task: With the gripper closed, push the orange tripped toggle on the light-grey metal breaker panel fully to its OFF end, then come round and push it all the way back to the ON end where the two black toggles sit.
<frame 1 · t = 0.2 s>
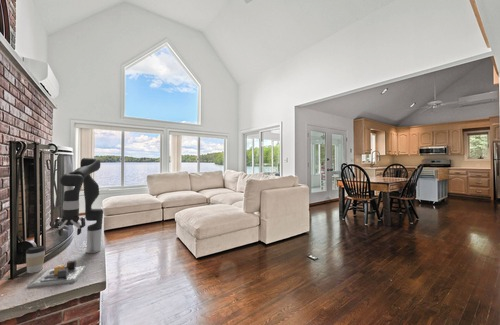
hand: (69, 234, 128), 27 cm above the table, fingers open, 8 cm apart
breaker panel: (59, 277, 131), on the table
coffee cup: (34, 270, 137), on the table
tripped toggle: (59, 269, 131), point 5 cm above the table, slide at 4.0 cm
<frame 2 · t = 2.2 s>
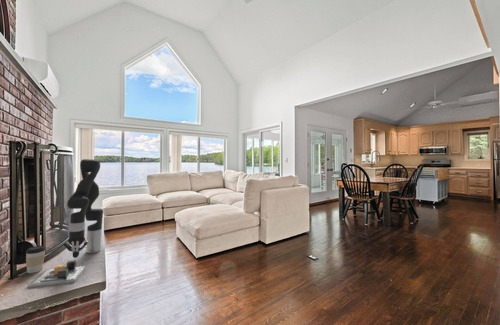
hand: (75, 257, 133), 12 cm above the table, fingers closed
nothing on the table moved.
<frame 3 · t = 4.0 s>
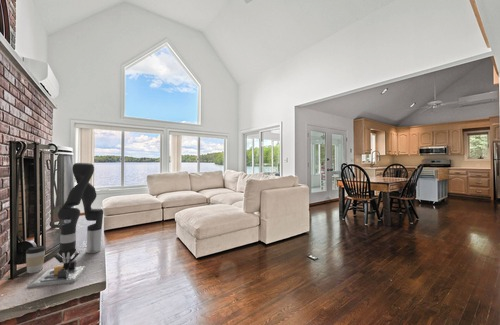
hand: (66, 268, 132), 5 cm above the table, fingers closed
tripped toggle: (59, 269, 131), point 5 cm above the table, slide at 3.9 cm, touching gripper
everything else where it was.
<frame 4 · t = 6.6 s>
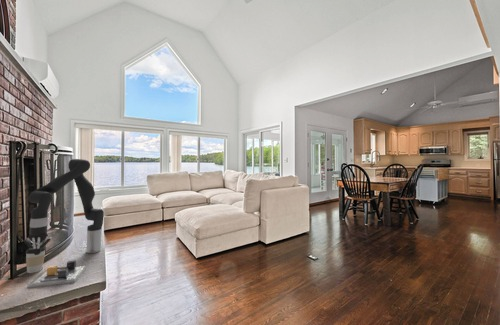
hand: (37, 254, 127), 15 cm above the table, fingers closed
tripped toggle: (52, 270, 129), point 5 cm above the table, slide at 0.4 cm
everything else where it was.
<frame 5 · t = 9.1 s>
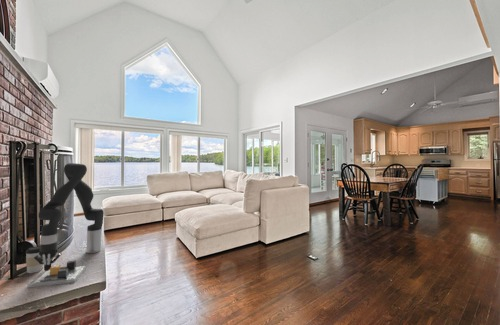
hand: (47, 270, 129), 5 cm above the table, fingers closed
tripped toggle: (55, 269, 130), point 5 cm above the table, slide at 1.9 cm, touching gripper
everything else where it was.
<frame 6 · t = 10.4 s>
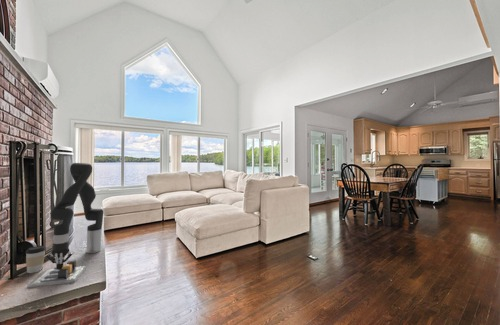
hand: (59, 269, 131), 5 cm above the table, fingers closed
tripped toggle: (67, 268, 132), point 5 cm above the table, slide at 7.9 cm, touching gripper
everything else where it was.
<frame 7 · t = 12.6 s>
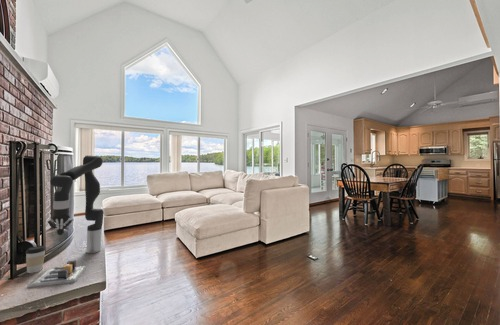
hand: (60, 234, 135), 25 cm above the table, fingers closed
tripped toggle: (67, 268, 132), point 5 cm above the table, slide at 8.0 cm
everything else where it was.
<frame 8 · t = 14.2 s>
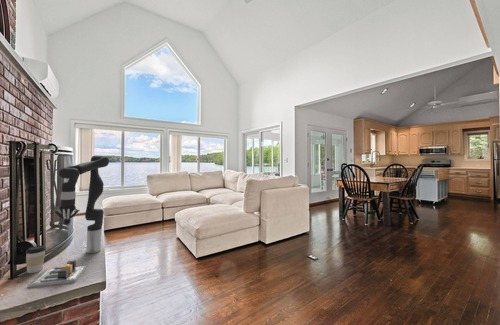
hand: (66, 224, 141), 29 cm above the table, fingers closed
nothing on the table moved.
at the end: tripped toggle slide at 8.0 cm; the gripper is holding nothing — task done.
